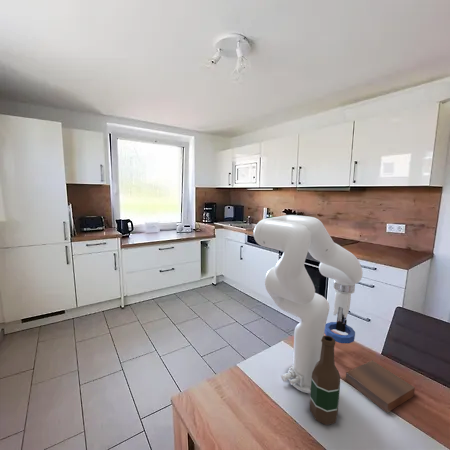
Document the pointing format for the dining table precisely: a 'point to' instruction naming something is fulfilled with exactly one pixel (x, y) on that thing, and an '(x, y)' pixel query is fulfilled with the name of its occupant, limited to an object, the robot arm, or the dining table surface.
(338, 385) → the beer bottle
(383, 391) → the platform
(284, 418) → the dining table surface
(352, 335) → the ring
